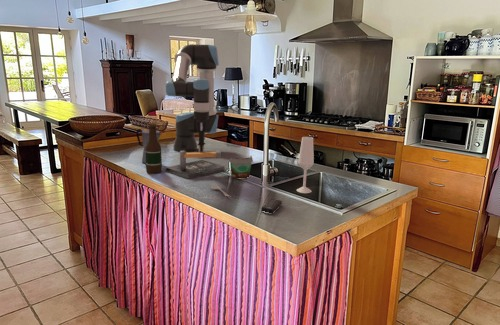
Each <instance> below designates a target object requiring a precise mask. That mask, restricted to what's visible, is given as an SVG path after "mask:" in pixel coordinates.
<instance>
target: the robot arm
mask: <svg viewBox="0 0 500 325" xmlns="http://www.w3.org/2000/svg"><path fill="white" fill-rule="evenodd" d="M190 66H196V70H198V71H199V74H198V76H199V78H195V79H193V81H187V80H188V74H189V67H190ZM218 66H219V55H218V47H217V46H216V45H214V44H193V43H192V44H191V43H190V44H187V45H184V46H182V47H180V49H179V50H177V52H176V53H175V55H174V68H173V73H172V77H171V80H168V81H166V82H165V95H166V96H167V97H181V98H182V97H192V98H193V103H192V107H193V111H192V112H189V111H188V112H181V113H178V114H176V115H175V122H174V123H175V140H174V143H173V147H172V148H173V150H174V151H175V152H180V151H186V153H188V152H193V151H194V152H196V151H197V150H198V152H205V145H206V142H205V134H208V135H209V134H210V135H211V134H215V133H217V129H218V121H219V114H217V111H216V110H215V107H214V106H215V105H214V104H215V96H214V95H215V94H214V93H215V90H214V89H215V85H214V84H215V81H214V80H215V79H214V78H215V77H214V76H215V73H214V72H215V71H216V70H217V67H218ZM195 134H198V143H197V140H196V138H195ZM199 158H200V159H204V158H205V157H199ZM199 158H198V159H199Z"/></svg>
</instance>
